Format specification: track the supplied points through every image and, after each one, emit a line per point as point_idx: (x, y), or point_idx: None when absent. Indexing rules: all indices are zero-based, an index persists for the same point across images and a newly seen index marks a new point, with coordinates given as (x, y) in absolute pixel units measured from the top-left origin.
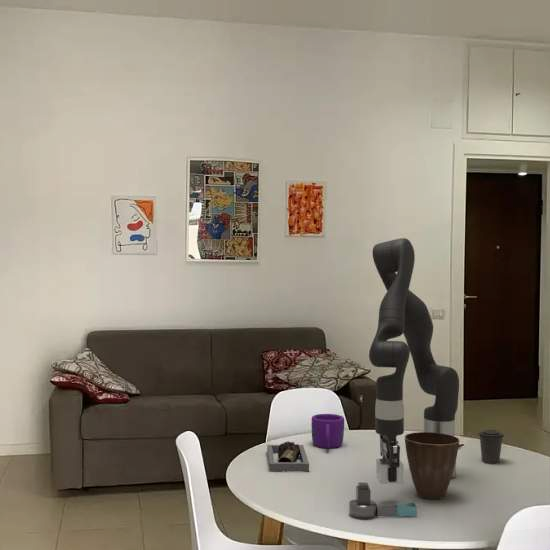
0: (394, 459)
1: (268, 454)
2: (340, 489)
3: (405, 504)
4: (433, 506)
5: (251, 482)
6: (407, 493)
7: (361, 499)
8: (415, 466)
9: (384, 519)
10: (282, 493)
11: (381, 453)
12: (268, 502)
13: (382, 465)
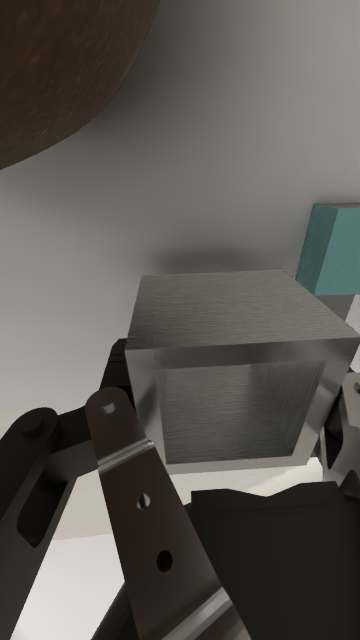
0: (351, 441)
1: None
2: (61, 401)
3: (348, 255)
4: (248, 59)
5: (59, 523)
6: (44, 172)
7: None
8: (88, 117)
9: (345, 320)
10: None
11: (75, 480)
12: (182, 503)
13: (307, 456)
